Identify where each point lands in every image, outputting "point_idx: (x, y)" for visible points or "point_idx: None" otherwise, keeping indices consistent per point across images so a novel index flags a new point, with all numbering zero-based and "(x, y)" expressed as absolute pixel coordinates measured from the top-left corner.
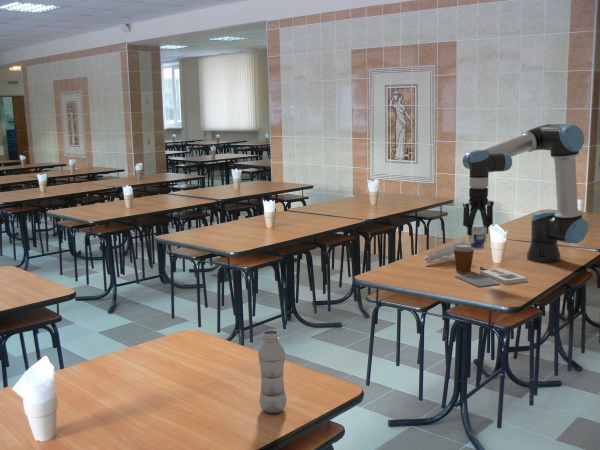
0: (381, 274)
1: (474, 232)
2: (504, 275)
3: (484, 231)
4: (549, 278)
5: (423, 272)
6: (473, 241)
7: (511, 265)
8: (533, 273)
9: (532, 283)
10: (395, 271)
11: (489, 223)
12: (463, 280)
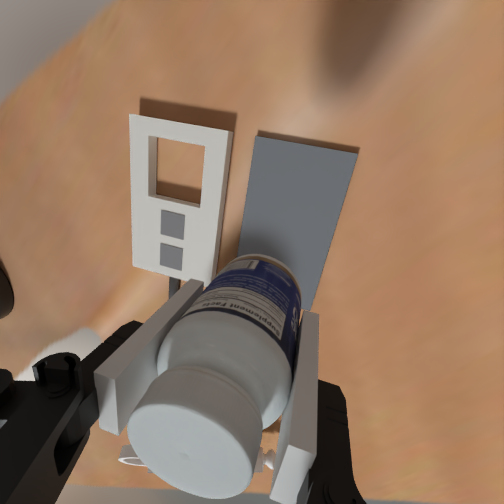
0: (482, 473)
1: (279, 387)
2: (174, 201)
3: (153, 347)
4: (53, 105)
5: (347, 403)
6: (306, 320)
7: (77, 291)
8: (67, 188)
9: (139, 80)
10: (409, 461)
11: (8, 403)
12: (324, 260)
